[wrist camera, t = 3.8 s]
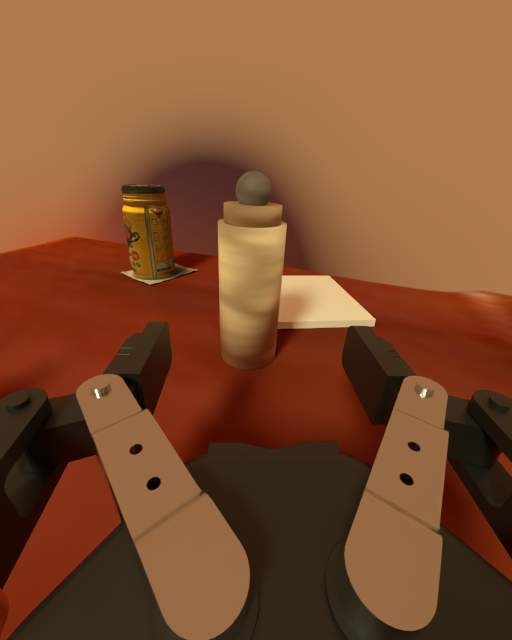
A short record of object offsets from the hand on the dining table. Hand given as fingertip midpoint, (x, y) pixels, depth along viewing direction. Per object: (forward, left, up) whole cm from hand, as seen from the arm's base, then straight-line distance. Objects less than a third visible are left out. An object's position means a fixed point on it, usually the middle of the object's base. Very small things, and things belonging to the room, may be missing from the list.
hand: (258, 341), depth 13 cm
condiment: (+10, -32, -8) cm, 34 cm away
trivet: (-8, -21, -8) cm, 24 cm away
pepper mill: (-1, -10, -8) cm, 13 cm away
